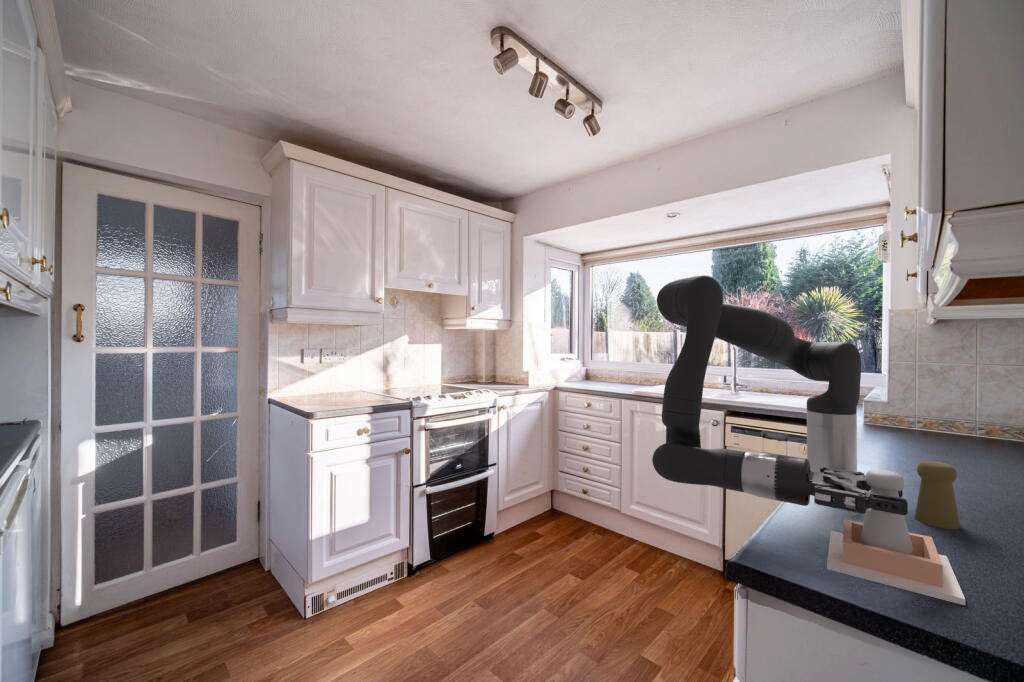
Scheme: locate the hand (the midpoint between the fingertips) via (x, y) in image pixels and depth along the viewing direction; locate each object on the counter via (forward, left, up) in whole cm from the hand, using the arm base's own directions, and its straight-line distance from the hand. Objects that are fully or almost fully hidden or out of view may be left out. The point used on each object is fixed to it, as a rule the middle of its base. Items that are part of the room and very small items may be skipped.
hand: (904, 498), depth 62 cm
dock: (0, -2, -10) cm, 10 cm away
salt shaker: (0, -2, -10) cm, 10 cm away
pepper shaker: (-26, +6, -10) cm, 29 cm away
